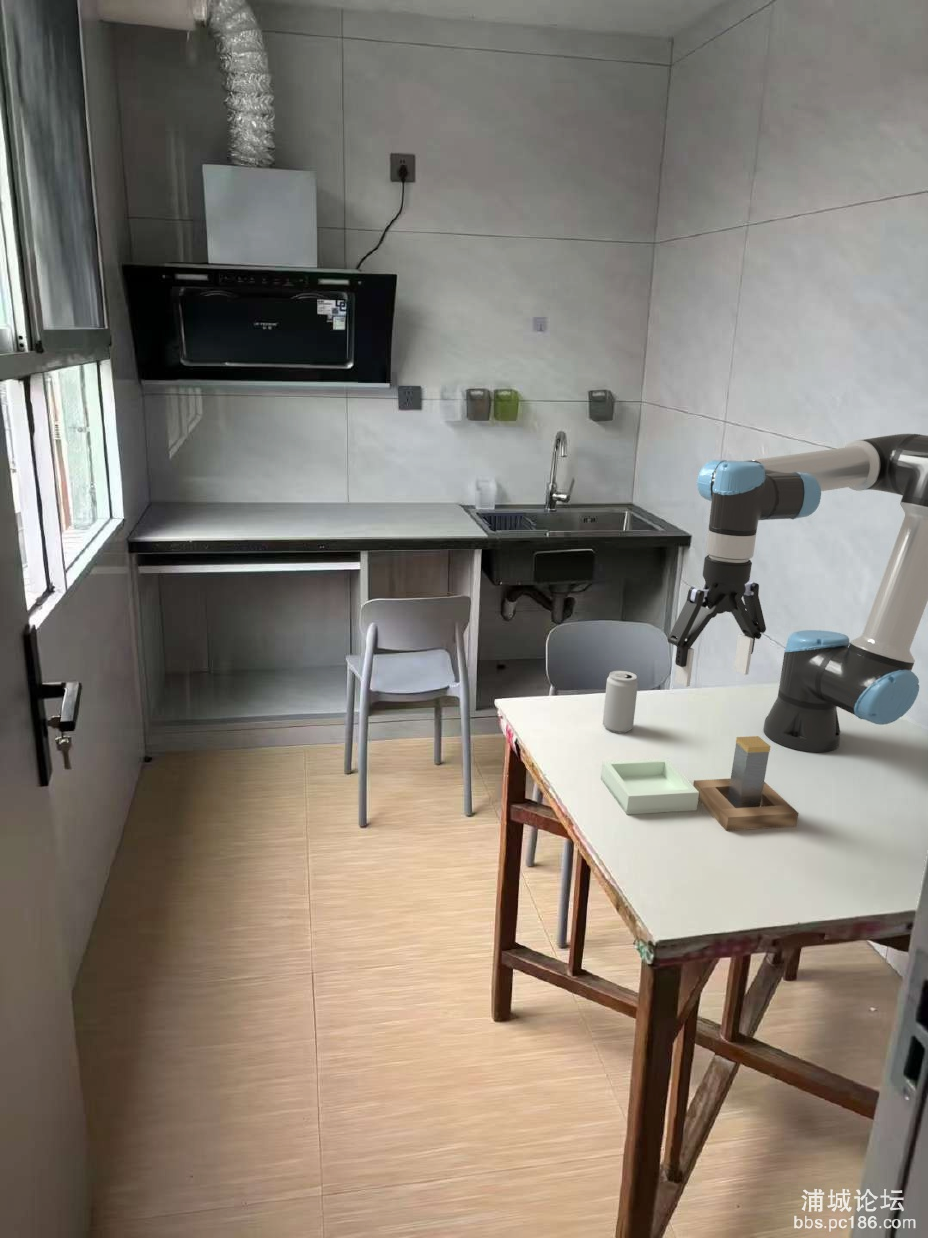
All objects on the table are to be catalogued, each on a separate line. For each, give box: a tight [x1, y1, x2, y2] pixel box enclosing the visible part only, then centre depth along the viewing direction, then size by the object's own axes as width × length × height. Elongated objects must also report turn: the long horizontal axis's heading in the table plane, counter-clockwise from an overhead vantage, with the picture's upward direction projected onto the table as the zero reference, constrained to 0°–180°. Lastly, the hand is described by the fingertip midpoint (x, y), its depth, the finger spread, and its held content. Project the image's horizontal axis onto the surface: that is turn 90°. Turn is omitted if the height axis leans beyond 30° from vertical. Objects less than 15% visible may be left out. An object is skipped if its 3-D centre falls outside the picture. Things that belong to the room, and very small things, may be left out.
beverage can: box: [602, 670, 639, 734], centre depth 181 cm, size 6×6×12 cm
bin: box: [600, 758, 699, 815], centre depth 156 cm, size 13×13×4 cm
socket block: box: [692, 777, 799, 832], centre depth 152 cm, size 13×13×2 cm
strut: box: [727, 735, 771, 808], centre depth 151 cm, size 4×4×13 cm
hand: (712, 677), depth 149 cm, fingers open, 13 cm apart
